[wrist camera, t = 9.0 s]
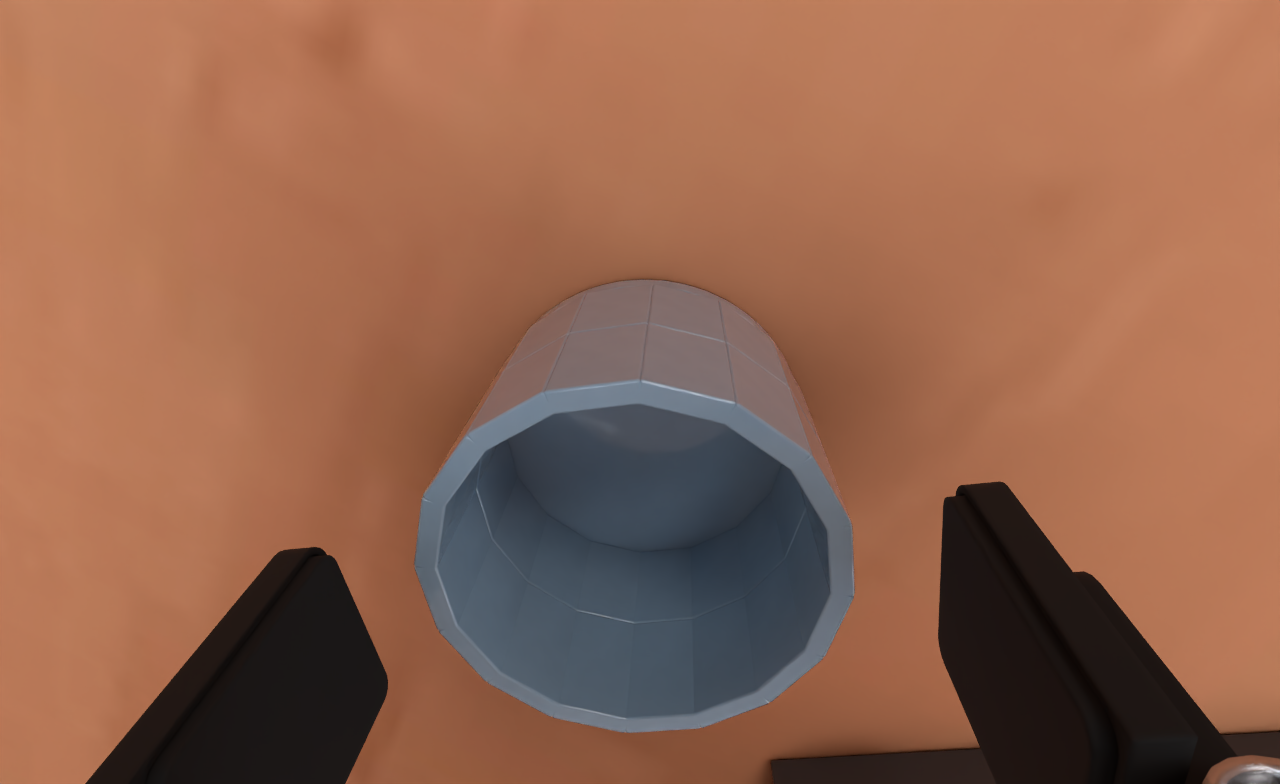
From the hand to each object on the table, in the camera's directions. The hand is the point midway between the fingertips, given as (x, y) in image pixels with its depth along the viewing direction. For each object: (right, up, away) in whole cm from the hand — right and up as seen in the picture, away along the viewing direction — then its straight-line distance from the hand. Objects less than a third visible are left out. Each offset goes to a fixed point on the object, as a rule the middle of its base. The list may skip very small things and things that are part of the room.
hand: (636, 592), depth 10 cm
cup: (0, +2, +6) cm, 6 cm away
